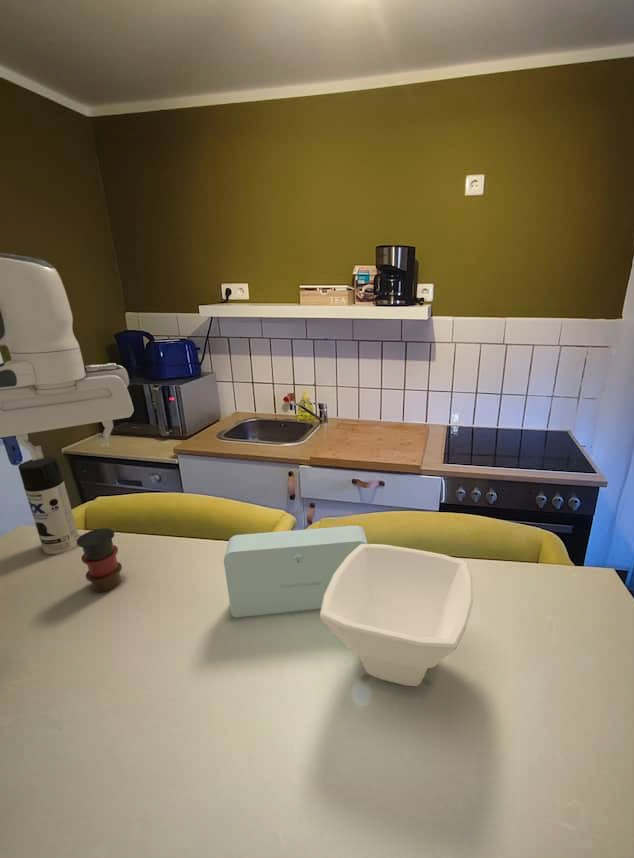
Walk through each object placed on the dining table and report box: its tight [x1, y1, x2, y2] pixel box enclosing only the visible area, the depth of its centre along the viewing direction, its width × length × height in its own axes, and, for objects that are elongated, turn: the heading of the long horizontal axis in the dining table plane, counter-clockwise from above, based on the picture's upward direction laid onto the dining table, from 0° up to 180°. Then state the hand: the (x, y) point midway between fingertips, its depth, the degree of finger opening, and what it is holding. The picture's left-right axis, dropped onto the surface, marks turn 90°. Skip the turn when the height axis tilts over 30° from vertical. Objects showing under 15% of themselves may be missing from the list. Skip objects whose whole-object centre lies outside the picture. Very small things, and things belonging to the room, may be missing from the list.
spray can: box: [17, 456, 80, 555], centre depth 90 cm, size 7×7×20 cm
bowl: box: [319, 543, 474, 687], centre depth 61 cm, size 19×19×14 cm
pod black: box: [77, 527, 115, 561], centre depth 77 cm, size 6×6×4 cm
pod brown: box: [85, 561, 123, 593], centre depth 80 cm, size 6×6×4 cm
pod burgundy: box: [81, 544, 119, 577], centre depth 79 cm, size 6×6×4 cm
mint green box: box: [223, 524, 369, 619], centre depth 73 cm, size 23×6×13 cm, turn 98°
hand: (72, 452), depth 71 cm, fingers open, 8 cm apart
